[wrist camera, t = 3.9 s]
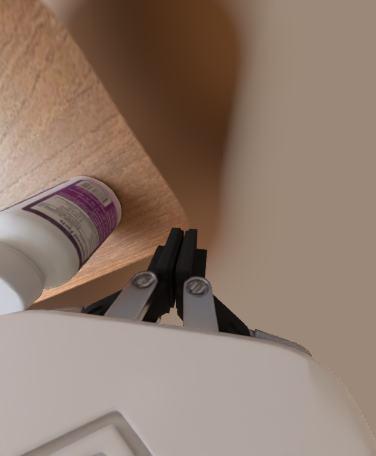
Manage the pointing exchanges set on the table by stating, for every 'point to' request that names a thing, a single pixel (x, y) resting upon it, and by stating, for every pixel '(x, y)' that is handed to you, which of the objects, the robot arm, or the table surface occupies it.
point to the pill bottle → (52, 238)
